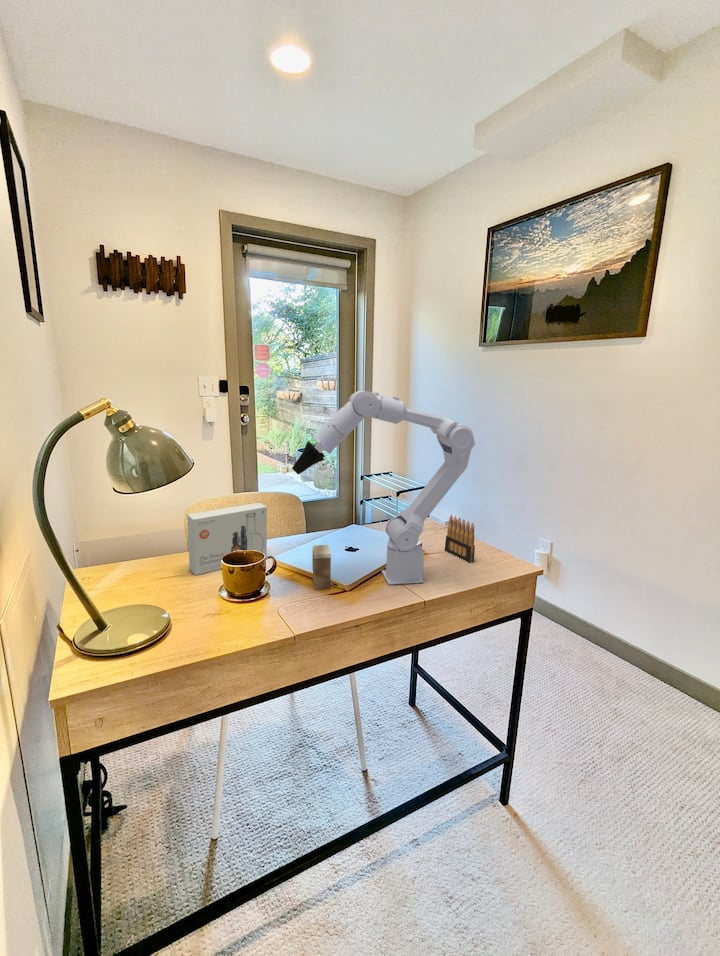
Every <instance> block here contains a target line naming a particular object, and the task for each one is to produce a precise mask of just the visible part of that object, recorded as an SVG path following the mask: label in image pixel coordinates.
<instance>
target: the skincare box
mask: <svg viewBox="0 0 720 956" xmlns="http://www.w3.org/2000/svg"><path fill="white" fill-rule="evenodd" d="M267 507H268V506H267V505H264V504H263V503H261V502H255V503H249V504H248V503H247V504H243V505H235V506H230V507H224V508H223V507H222V508H220V509H211V510H206V511H200V512H193V513H187V514H186V518H187V543H188V545H187V549H188V565H189V566H188V568H189V571H191V573H192V574H193V575H195V576H199V575H202V574H207V573H210V572H214V571H215V572H216V571H219V570H222V569H221V560H222V557H223V556H224V555H225V554H228V553H231V552H233V551H237V550H257V551H260V552H262V553H264V554H265V556H268V555H267V554H268V553H267V550H268V549H267V546H268V540H267V538H268V535H267V534H268V530H267V529H268V527H267V526H268V523H267V522H268V521H267V520H268V508H267Z"/></svg>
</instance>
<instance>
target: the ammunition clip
mask: <svg viewBox="0 0 720 956" xmlns="http://www.w3.org/2000/svg"><path fill="white" fill-rule="evenodd" d="M461 519H462V518H461V517H458V519H457V516H456V515H455V516H454V517H453V515H452V514H450V516H449V519H448V524H447V525H448V526H447V531H446V532H447V533H446V536H445V542H444V543H445V544H444V552H446V551H447V552H446V553H448V554H450V553H451V554H450V555H452V554H453V555H452V556H454V555H455V556H454V557H456V556H457V557H456V558H458V557H459V558H458V559H460V558H461V559H460V560H462V559H463V560H462V561H464V560H465V561H464V562H466V561H467V562H466V563H468V562H469V564H470V562H472V563H474V562H475V552H476V551H475V549H476V548H475V547H476V546H475V524H474V522H472V523H471V524H470V521H469V520H467V522H466V520H465V519H462V520H461ZM473 561H474V562H473Z"/></svg>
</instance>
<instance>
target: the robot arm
mask: <svg viewBox="0 0 720 956" xmlns="http://www.w3.org/2000/svg"><path fill="white" fill-rule="evenodd" d="M369 417H371V418H373V419H375V420H380V421H383V422H388V423H391V424H395V425H397V424H399V423H401V422H403V421H405V422H409V423H413V424H416V425H420V426H423V427H425V428H426V427H427V428H429V429H430V430H431V432H432V433H433V434H435V435H436V439H437V442H438V443H439V446H440V447H441V449H442V451H443V457H444V462H443V464H441V466H440V467H439V469H438V470H437V471H435V474H433V476H432V477H431V478H430V480H429V481H428V483H427V484H425V486H424V487H423V489H421V492H420V493H418V494H417V496H416V498H414V500H413V501H412V502H411V504H410V505H409V506H408V507H407V508H406V509H403V510H401V511H399V513H398V514H397V515H395V516H394V517H392V518H391V519H389V520H388V521H387V523H386V526H385V532H386V535H387V536H388V537H389V538H388V541H387V544H386V563H385V564H386V567H385V569H382V570H381V573H382V576H383V577H384V579H385V581H386V582H387V585H389V586H390V585H403V584H404V585H405V584H420V583H424V576H423V575H424V564H425V563H424V562H425V558H424V555H425V554H424V550H423V547H422V546H421V545H419V544H418V542H419V537H420V536H421V534H422V533H423V532H424V523H425V521H426V519H428V517H429V516H430V515H431V513H432V512H433V511H434V509H435V508H436V507H437V505H438V504H439V503H440V502H441V501H442V500H443V498H444V497H445V496H446V494H448V492H449V491H450V489H451V488H452V487H453V485H454V484H455V483H456V482H457V481H458V480H459V478H460V477H461V476H462V474H463V473H464V472H465V471H466V469H467V468H468V466H469V462H470V456H471V453H472V450H473V448H474V447H475V445H476V443H475V438H474V433H473V430H472V429H471V428H470V427H468V426H467V425H463V424H462V425H461V424H460V423H458V422H456V421H454V420H452V419H449V418H447V417H444V416H442V415H438V414H434V413H430V412H429V413H428V412H426V411H425V412H424V411H420V410H415V409H413V408H407V406H406V404H405V402H404V401H403V400H400V397H397V396H394V395H393V396H392V397H388V396H384V395H381V394H380V393H379V392H377V391H373V392H372V391H367V390H358V391H356V392H354V393H352V394H351V395H349V399H348V401H347V402H346V403H345V404H344V405H343V406H342V407H340V408H339V409H338V410H337V412H335V414H333V416H331V418H330V419H328V421H326V422H325V424H323V426H321V427H320V428H319V430H317V431H316V433H314V432H313V431H312V430H310V432H309V435H310V436H311V437H312V438H313V439H314V441H315V444H313V443H312V442H310V440H307V442H306V444H305V446H304V450H303V451H302V453H301V454H300V456H299V457H298V458H297V460H296V461H295V463H294V464H293V466H292V468H291V469H292V470H293V472H295V473H296V474H297V475H300V474H302V473H303V472H305V471H306V470H308V469H309V468H311V467H312V466H313V465H316V464H318V463H321V462H323V461H325V457H326V455H325V454H324V453H323V452H324V451H325V452H326V453H328V454H329V455H331V454H332V453H333V451H334V450H335V449H336V447H338V446H339V445H340V444H341V443H342V442H343V441H344V440H345V438H347V437H348V436H349V434H350V433H352V432H353V431H354V430H355V429H356V428H357V427H358V425H359V424H360V423H361V422H362V421H364V420H365V418H369Z"/></svg>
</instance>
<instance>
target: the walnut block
mask: <svg viewBox="0 0 720 956" xmlns="http://www.w3.org/2000/svg"><path fill="white" fill-rule="evenodd" d="M331 557H332V553H331V550H330V547H329V544H319V545H317V544H316V545H312V560H311V561H312V563H311V564H312V570H313V577H312V584H313V589H314V591H324V590H331V576H332V575H331V573H332V571H331V567H332V566H331V565H332V563H331V562H332V561H331V560H332V559H331ZM312 570H311V571H312Z"/></svg>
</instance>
